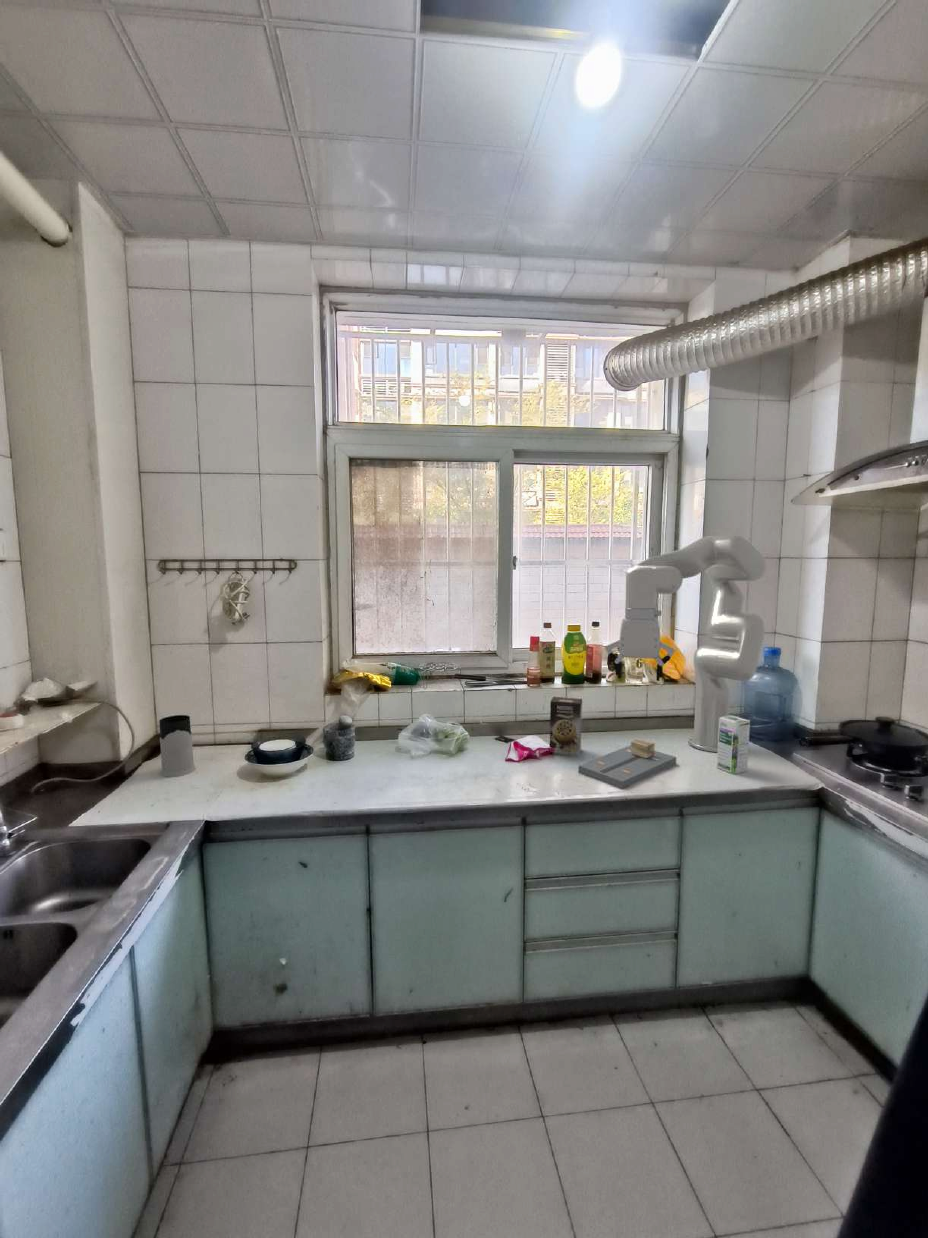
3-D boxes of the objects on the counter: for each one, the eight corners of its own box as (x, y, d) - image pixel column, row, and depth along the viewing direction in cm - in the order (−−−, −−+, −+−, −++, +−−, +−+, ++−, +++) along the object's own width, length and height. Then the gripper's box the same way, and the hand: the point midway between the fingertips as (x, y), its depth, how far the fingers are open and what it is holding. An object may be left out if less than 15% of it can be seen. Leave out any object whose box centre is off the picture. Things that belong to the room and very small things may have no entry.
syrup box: (715, 767, 150) (718, 717, 148) (729, 764, 153) (732, 714, 151) (734, 775, 145) (736, 722, 143) (748, 771, 148) (751, 719, 146)
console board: (632, 750, 164) (633, 743, 164) (676, 763, 153) (676, 756, 153) (578, 772, 147) (578, 765, 147) (622, 789, 137) (622, 781, 136)
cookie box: (548, 753, 162) (549, 701, 160) (551, 746, 168) (552, 695, 166) (579, 756, 159) (580, 703, 158) (581, 749, 165) (582, 697, 164)
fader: (638, 750, 158) (639, 738, 157) (654, 755, 154) (654, 743, 153) (630, 753, 155) (631, 741, 155) (646, 758, 151) (646, 746, 151)
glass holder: (162, 779, 145) (158, 725, 143) (155, 764, 156) (152, 713, 154) (198, 772, 150) (195, 719, 148) (189, 757, 161) (186, 708, 160)
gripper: (675, 613, 141) (673, 677, 143) (607, 612, 147) (606, 673, 149) (676, 617, 134) (673, 684, 136) (604, 615, 140) (603, 679, 142)
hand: (638, 678), depth 142 cm, fingers open, 9 cm apart
